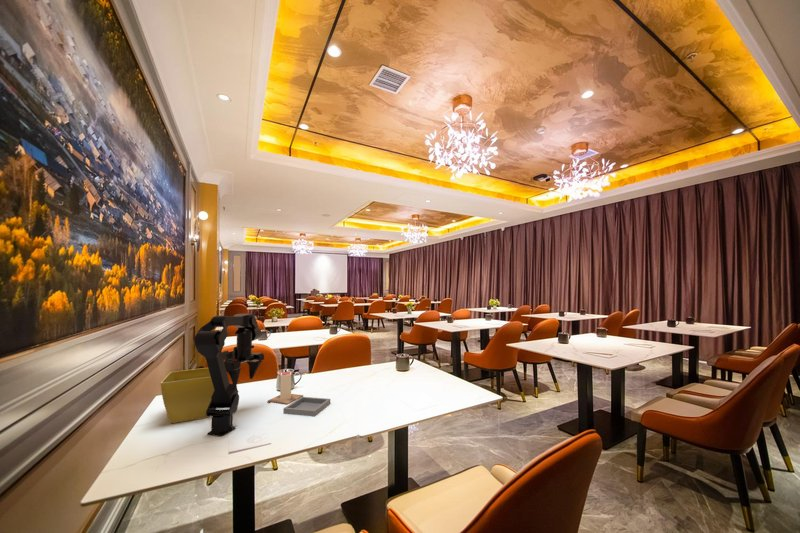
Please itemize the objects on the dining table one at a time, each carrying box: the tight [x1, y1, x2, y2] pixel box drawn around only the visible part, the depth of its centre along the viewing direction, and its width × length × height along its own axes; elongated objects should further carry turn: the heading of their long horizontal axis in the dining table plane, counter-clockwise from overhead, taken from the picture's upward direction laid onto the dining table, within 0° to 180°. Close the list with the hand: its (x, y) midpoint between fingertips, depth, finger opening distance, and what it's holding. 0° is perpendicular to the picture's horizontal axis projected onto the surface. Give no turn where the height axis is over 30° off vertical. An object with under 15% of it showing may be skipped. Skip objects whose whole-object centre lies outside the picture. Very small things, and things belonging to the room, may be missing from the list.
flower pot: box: [160, 367, 214, 424], centre depth 127 cm, size 19×19×17 cm
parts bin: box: [283, 396, 331, 417], centre depth 131 cm, size 14×14×2 cm
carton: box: [279, 371, 292, 400], centre depth 142 cm, size 4×4×11 cm
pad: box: [266, 393, 304, 406], centre depth 142 cm, size 11×11×1 cm
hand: (243, 381), depth 127 cm, fingers open, 9 cm apart
